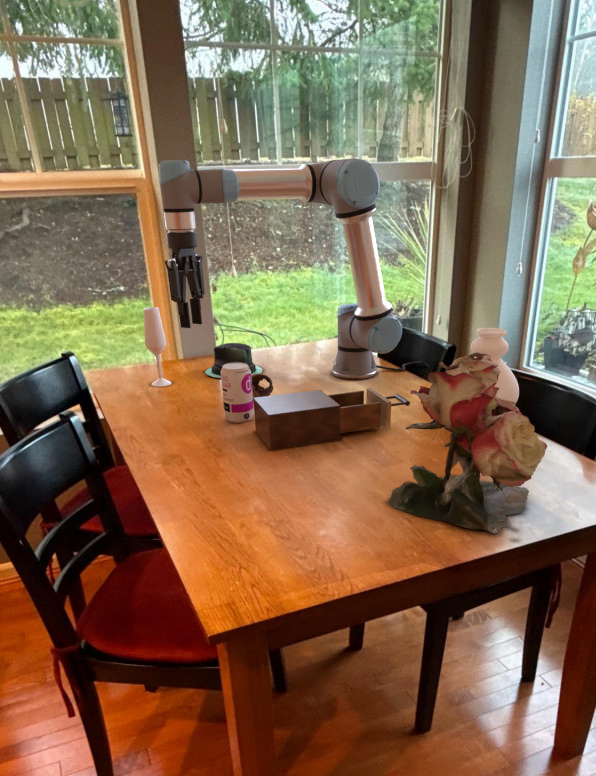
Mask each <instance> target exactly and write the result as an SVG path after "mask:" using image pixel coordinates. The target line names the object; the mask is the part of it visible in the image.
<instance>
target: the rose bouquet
mask: <svg viewBox="0 0 596 776" xmlns="http://www.w3.org/2000/svg"><path fill="white" fill-rule="evenodd" d="M475 357H477V358H475ZM438 365H439V367H440V368H441V369H442V368H444V369H445V371H444V372H442V371H435V372H430V373H429V374H428V376H427V377H428V378H427V379H428V381H430V383H431V385H430V386H429V387H427V386H424V385H420V386H419V390H418V391H417V390H416V389H413V390H412V389H410V391H409V393H410V394H409V395H415V396H417V398H418V399H419V400H420V404H421V405H422V408H423V411H424V412H425V413H426V414H427V415H428V416H429V418H430V419H431V420H432V421H429V422H415V423H412V424H409V425H407V426H406V427H404V429H405V430H412V429H413V430H425V431H426V430H427V431H429V430H438V429H445V431H447V432H450V435H449V439H450V440H449V441H450V442H447V443H444V448H448V451H447V455H446V459H445V468H444V476H443V477H439V476H437V475H438V474H437V473H436V472H433V471H431V470H429V469H427V468H426V467H425V466H423V465H418V464H413V465H411V466H410V467H409V469H410V470H411V472H412V478H413V479H414V480H415V482H413V481H411V480H406V481H404V482H403V483H402V484H401V485H400V486H399V487H395V488H394V489H392V490H391V495H390V498H389V500H388V503H389V504H390V505H392V507H393V508H395V509H398V510H399V511H403V512H405V513H409V514H411V515H414V516H417V517H423V518H426V519H431V520H434V521H445V522H447V523H450V524H453V525H455V526H458V527H461V528H465V529H469V530H475V531H477V530H485V531H487V532H488V533H491V534H494V535H495V534H498V533H500V530H501V529H502V528H504V527H505V528H508V529H511V530H515V531H516V529H515V528H512V527H510V526H509V523H508V521H507V516H511V515H517V514H521V513H522V512H523V510H524V508H526V505H527V502H528V496H529V493H530V490H529V489H528V488H526V487H524V486H523V485H524V484H525V482H528V481H529V480H531V479H532V476H533V475H534V473H535V472H536V470H537V468H538V466H539V464H540V463H541V462H542V459H543V458H544V457H545V454H546V450H547V449H548V444H547V443H546V442H545V441H542V440H541V439H539V436H538V435H539V434H538V433H536V432H535V430H536V428H535V426H534V425H533V424H532V423H531V422H530V420H529V417H528V416H526V415H523V413H522V412H521V411H520V409H519V407H518V406H516V404H515V402H512V401H508V400H504V399H500V398H498V397H497V396H496V394H497V391H498V390H499V388H498V387H494V386H495V385H496V383H497V381H498V376H499V374H500V369H499V368H496V367H498V366H499V365H498V364H495V363H493V361H492V360H491V356H489V355H488V354H484V353H483V354H482V353H480V352H475V353H473V352H472V353H470V354H467V355H465V356H460V357H458V358H456V359H454V360H453V361H452V364H450V365H449V366H448V365H446V364H444V361H441V362H438ZM458 463H459V465H460V467H461V469H462V472H461V474H460V475H459V476H453V475H452V473H451V472H452V469H453V468H454V467H455V466H456V465H457V464H458ZM481 476H483V477H487V478H488V477H490V478H491V480H492V482H489V481H481ZM484 480H485V479H484ZM521 486H523V487H521Z"/></svg>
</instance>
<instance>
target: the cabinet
mask: <svg viewBox="0 0 596 776" xmlns="http://www.w3.org/2000/svg"><path fill="white" fill-rule="evenodd" d="M328 395H329V394H327V393H326V392H324V391H323V390H321V389H315V390H307V391H298V392H290V393H283V394H281V393H280V394H273V395H269V396H265V397H256V398H253V400H254V401H253V410H254V426H255V427H254V429H255V432H256V434H257V435H258V436H259V437H260V439H261V440H262V442H263V443H264V444H265V446H267V448H268V449H269V450H270V451H276V450H277V451H278V450H283V449H290V448H297V447H303V446H304V447H305V446H311V445H316V444H323V443H331V442H337V441H341V433H340V405H339V404H338V403H336V402H335V401H334V400H333V399H331V398H330V397H329V396H328Z"/></svg>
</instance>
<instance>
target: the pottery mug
mask: <svg viewBox="0 0 596 776" xmlns="http://www.w3.org/2000/svg"><path fill="white" fill-rule="evenodd" d="M251 380H252V395H253V398H256V397H265V396H271V394H272V393H273V391H274V389H275V388H274V385H273V381H272V379H271V378H270V377H269V376H268V375H266V374H262V373H260V374H254V375H252V376H251ZM263 380H265V381H266V383H269V384H268V386H267V387H264V386H261V385H259V384H260V382H262V381H263ZM253 402H254V400H253Z"/></svg>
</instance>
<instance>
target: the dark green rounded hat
mask: <svg viewBox="0 0 596 776" xmlns="http://www.w3.org/2000/svg"><path fill="white" fill-rule="evenodd" d="M213 352H214V356H213V357H214V358H213V359H214V363H213V365H212V366H211V367H209V368H207V369H206V370H205V372H204V373H205V374H206V375H207V376H209V377H212V378H218V379H219V378H220V379H221V370H222V366H223V365H225V364H228V363H246V364H248V367H249V369H250V370H251V376H252V375H254V374H262V373H263V368H262V367H260V366H258V365H256V364H255V363H254V362H253V357H252V347H251V346H250V345H249V344H246V343H241V342H227V343H222V344H220V345H216V346H214V347H213Z"/></svg>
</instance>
